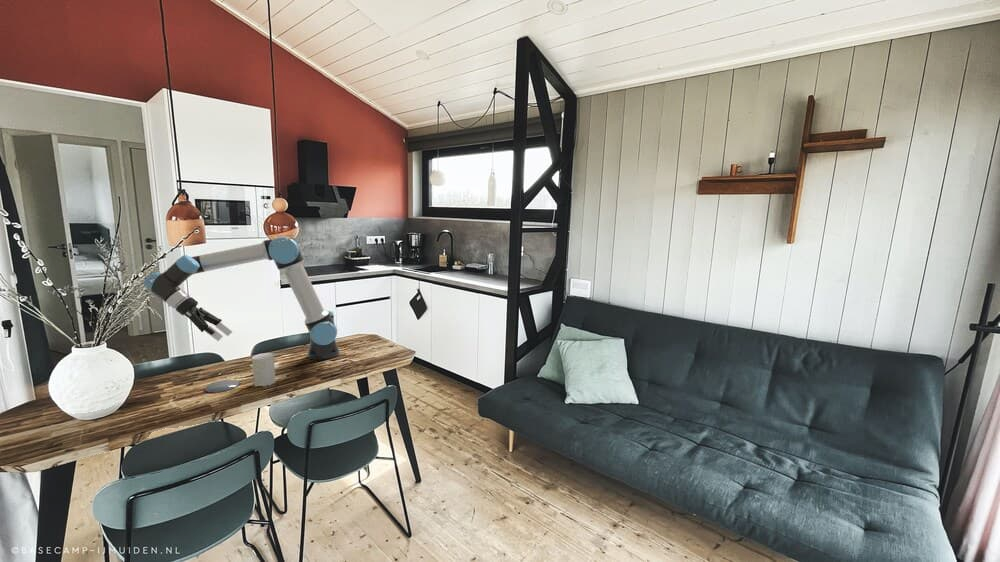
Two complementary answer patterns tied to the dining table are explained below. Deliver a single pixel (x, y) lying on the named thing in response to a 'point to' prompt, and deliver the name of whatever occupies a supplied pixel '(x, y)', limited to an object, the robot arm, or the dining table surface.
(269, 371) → the cup
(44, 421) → the dining table surface
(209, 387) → the metal disc
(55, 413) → the dining table surface
